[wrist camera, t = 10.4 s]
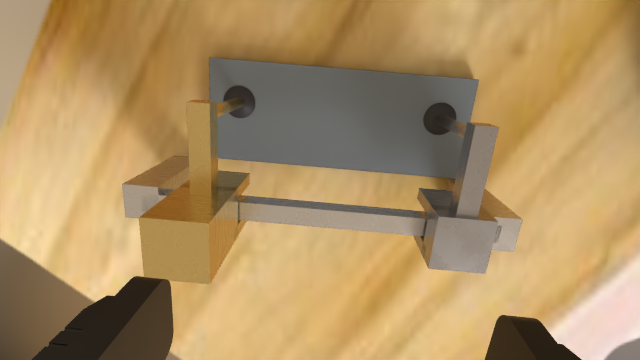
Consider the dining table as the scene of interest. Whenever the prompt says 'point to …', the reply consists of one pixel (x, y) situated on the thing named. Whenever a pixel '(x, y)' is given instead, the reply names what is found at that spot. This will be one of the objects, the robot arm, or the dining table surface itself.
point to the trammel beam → (427, 227)
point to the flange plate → (340, 117)
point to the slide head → (195, 207)
